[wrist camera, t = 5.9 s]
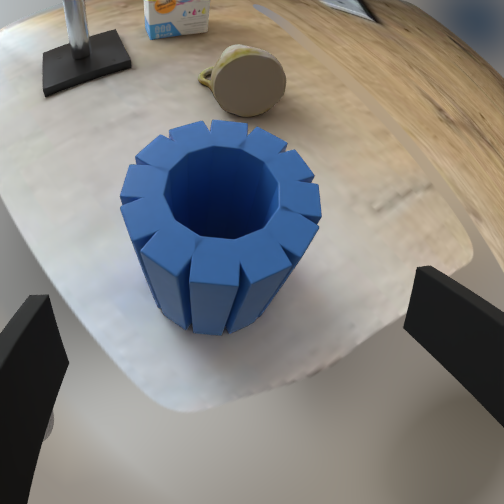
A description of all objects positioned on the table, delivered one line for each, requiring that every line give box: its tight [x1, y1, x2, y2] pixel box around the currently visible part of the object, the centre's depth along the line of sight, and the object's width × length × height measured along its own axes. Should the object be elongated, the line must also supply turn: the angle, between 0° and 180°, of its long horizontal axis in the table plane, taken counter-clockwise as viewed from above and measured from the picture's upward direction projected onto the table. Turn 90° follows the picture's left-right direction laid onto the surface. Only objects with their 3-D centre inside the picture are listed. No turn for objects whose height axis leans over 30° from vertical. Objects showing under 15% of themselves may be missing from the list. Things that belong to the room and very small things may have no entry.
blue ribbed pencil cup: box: [120, 120, 322, 335], centre depth 19 cm, size 9×9×10 cm
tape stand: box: [43, 0, 131, 97], centre depth 25 cm, size 11×11×17 cm
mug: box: [198, 45, 286, 117], centre depth 29 cm, size 8×10×10 cm
